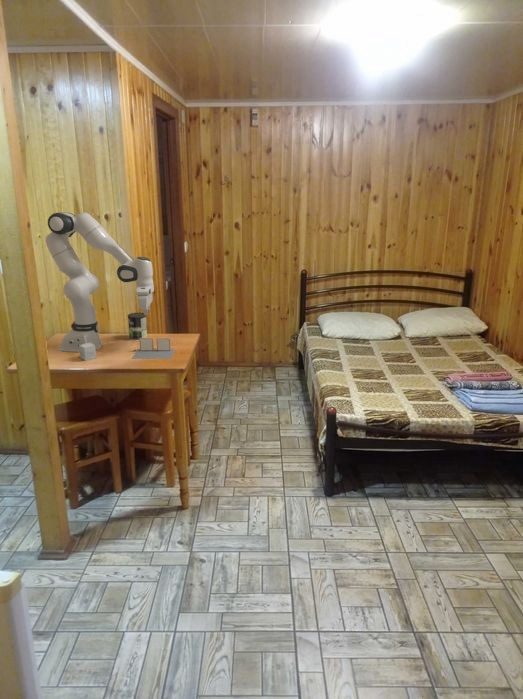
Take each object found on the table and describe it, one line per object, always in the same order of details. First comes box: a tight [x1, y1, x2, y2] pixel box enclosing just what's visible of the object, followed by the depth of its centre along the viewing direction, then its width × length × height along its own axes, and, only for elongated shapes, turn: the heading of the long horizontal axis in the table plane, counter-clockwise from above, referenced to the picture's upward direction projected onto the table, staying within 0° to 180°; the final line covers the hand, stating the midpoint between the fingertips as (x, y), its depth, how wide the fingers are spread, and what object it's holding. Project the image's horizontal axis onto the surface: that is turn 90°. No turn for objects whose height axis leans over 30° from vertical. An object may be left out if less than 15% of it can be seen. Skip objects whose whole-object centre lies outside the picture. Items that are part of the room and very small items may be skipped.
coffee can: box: [127, 312, 148, 341], centre depth 283 cm, size 10×10×14 cm
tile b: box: [156, 337, 172, 351], centre depth 263 cm, size 7×2×7 cm, turn 92°
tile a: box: [139, 337, 155, 351], centre depth 262 cm, size 7×2×7 cm, turn 92°
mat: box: [131, 348, 176, 360], centre depth 259 cm, size 20×16×1 cm
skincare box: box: [79, 343, 97, 362], centre depth 251 cm, size 6×6×7 cm
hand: (146, 313), depth 263 cm, fingers open, 3 cm apart
